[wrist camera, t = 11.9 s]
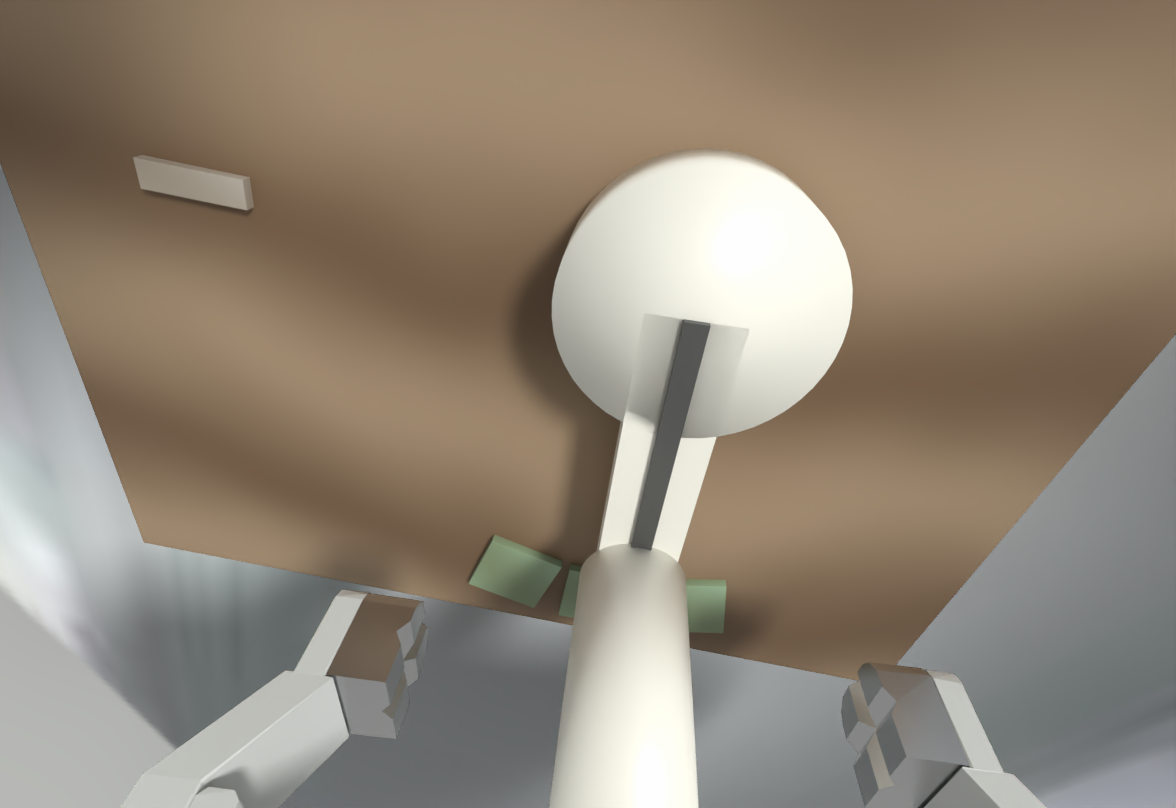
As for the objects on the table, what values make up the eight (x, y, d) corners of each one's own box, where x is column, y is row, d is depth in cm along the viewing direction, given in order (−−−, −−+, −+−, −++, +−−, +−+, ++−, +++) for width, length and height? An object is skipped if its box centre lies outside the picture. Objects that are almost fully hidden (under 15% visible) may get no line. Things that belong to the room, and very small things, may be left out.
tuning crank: (576, 127, 8) (456, 298, 3) (875, 171, 8) (1220, 414, 3) (532, 569, 14) (462, 889, 9) (714, 597, 14) (748, 936, 9)
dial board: (-168, -775, 6) (-504, -1098, 4) (1572, -366, 7) (1913, -507, 5) (193, 491, 17) (138, 548, 15) (857, 620, 17) (881, 691, 16)
